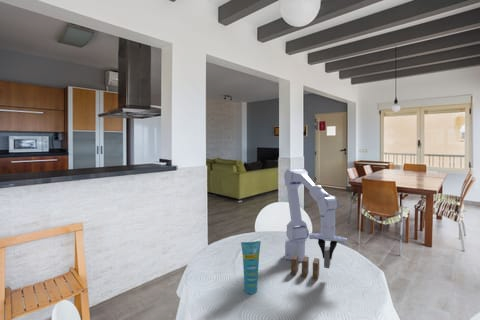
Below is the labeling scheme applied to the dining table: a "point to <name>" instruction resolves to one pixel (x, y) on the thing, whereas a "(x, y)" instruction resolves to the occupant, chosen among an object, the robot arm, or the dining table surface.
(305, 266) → the domino
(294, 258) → the domino
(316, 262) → the domino
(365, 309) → the dining table surface
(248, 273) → the tube
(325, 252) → the domino
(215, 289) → the dining table surface
